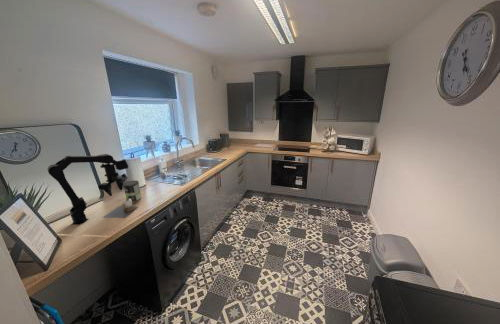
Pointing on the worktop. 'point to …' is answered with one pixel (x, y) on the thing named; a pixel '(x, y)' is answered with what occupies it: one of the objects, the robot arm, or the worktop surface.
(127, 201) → the cap
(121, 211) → the board
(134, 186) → the coffee can
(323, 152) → the worktop surface
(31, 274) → the worktop surface
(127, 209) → the base
